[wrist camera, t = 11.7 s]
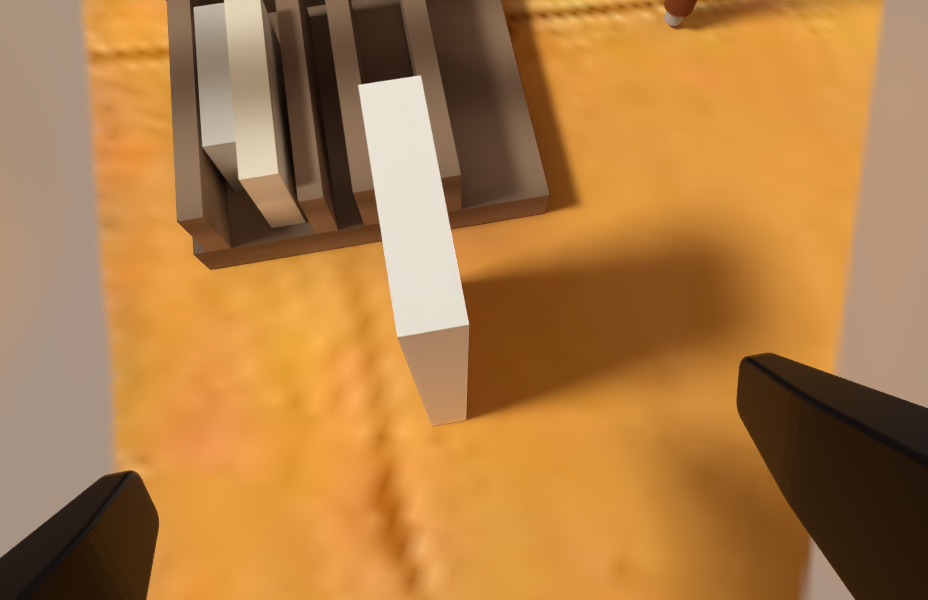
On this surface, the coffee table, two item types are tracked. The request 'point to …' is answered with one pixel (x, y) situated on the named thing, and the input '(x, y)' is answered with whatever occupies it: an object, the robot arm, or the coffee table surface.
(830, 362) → the coffee table surface
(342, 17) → the offcut rack
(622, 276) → the coffee table surface
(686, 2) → the magnifying glass
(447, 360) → the white flat board
